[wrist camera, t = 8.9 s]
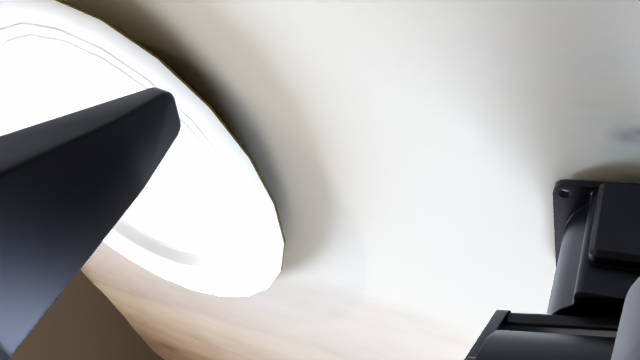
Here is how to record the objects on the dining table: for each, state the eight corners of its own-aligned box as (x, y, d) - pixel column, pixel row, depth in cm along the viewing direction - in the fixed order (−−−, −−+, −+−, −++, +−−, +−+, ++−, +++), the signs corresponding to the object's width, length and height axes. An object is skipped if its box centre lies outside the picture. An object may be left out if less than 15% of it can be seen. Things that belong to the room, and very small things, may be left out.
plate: (-76, -103, 30) (-106, -93, 29) (342, 128, 27) (326, 150, 26) (30, 178, 53) (15, 190, 52) (264, 322, 50) (254, 338, 49)
